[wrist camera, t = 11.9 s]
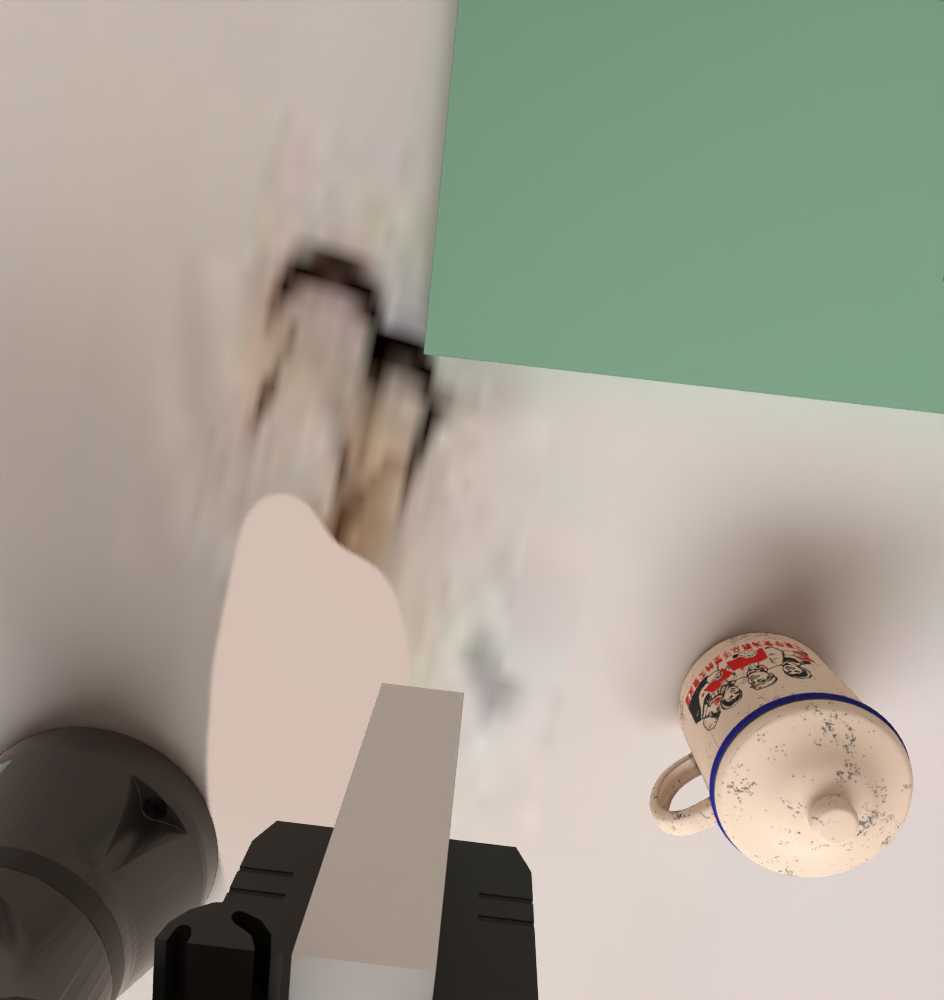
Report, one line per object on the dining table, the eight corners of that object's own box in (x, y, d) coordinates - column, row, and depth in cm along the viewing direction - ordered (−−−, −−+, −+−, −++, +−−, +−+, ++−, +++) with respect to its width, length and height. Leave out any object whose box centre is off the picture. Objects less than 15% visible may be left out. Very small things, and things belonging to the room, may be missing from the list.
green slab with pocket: (427, 352, 43) (419, 355, 38) (465, -33, 39) (461, -76, 35) (1085, 428, 42) (1148, 439, 38) (1189, 46, 38) (1271, 13, 34)
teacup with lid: (791, 596, 45) (890, 689, 33) (865, 729, 46) (984, 862, 35) (597, 699, 46) (629, 822, 35) (674, 825, 48) (729, 982, 36)
